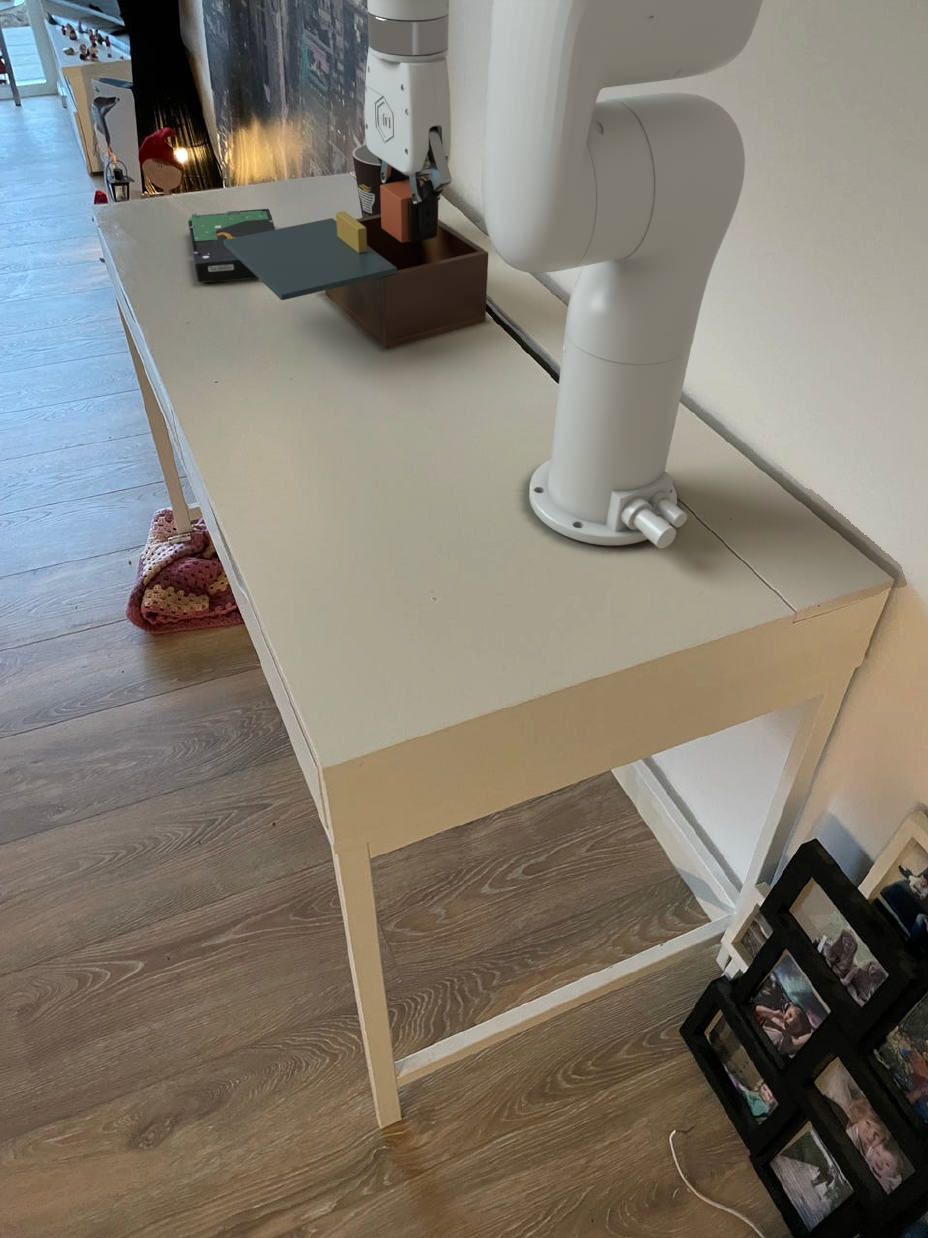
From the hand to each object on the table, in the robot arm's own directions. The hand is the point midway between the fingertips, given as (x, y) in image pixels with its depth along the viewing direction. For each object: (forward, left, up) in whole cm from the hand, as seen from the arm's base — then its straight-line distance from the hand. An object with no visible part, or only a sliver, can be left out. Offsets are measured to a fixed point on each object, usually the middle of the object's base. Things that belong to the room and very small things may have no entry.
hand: (410, 228), depth 101 cm
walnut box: (0, +1, -9) cm, 9 cm away
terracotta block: (0, 0, 0) cm, 0 cm away
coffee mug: (+17, -7, -9) cm, 20 cm away
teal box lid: (0, +12, -1) cm, 12 cm away
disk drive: (+22, +12, -9) cm, 27 cm away
